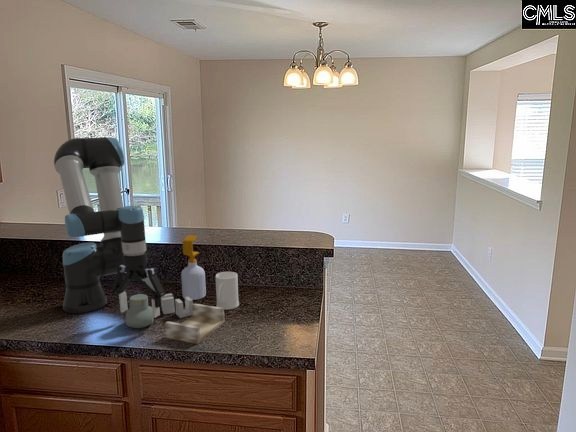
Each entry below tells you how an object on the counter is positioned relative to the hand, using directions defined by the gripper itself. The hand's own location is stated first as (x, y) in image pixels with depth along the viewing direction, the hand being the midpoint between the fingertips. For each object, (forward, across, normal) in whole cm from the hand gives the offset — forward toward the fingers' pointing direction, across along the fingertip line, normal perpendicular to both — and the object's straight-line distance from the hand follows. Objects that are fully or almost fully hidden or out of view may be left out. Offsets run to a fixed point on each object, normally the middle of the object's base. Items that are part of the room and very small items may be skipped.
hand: (140, 313), depth 147 cm
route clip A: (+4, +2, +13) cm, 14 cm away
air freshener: (+4, 0, 0) cm, 4 cm away
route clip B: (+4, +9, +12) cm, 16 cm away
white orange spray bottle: (+4, +3, +28) cm, 29 cm away
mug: (+4, +20, +23) cm, 31 cm away
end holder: (+4, +20, +4) cm, 20 cm away
